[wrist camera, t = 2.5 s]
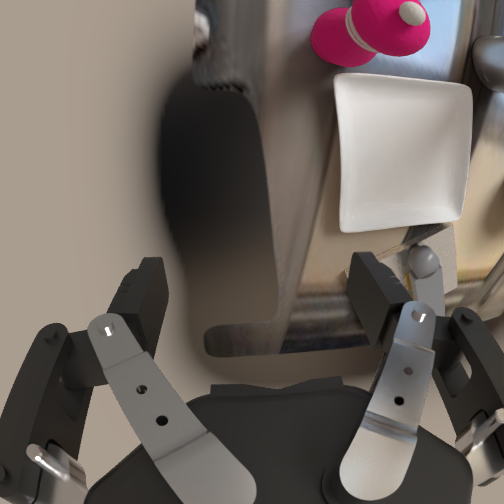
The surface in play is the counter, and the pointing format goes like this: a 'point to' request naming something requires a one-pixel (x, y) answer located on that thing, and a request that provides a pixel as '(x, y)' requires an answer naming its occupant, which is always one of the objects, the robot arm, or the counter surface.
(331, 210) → the counter surface
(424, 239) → the panel
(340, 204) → the salad plate
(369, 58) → the pepper mill
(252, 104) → the counter surface
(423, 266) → the swing bar
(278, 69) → the counter surface
